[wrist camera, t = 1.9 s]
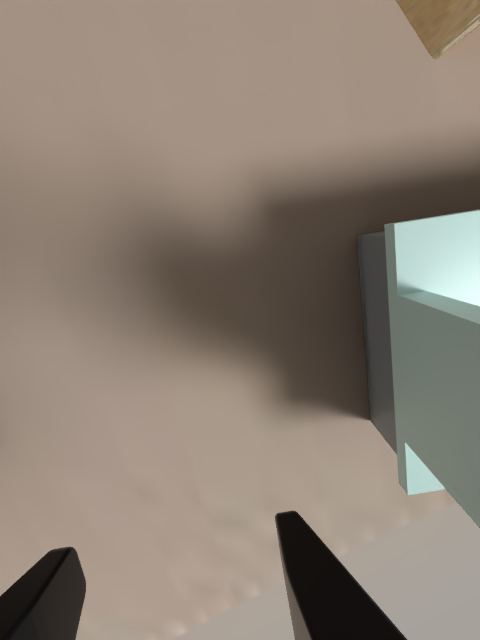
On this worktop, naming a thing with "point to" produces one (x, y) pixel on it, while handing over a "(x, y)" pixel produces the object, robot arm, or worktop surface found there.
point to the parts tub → (377, 333)
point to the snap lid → (436, 353)
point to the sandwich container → (441, 21)
